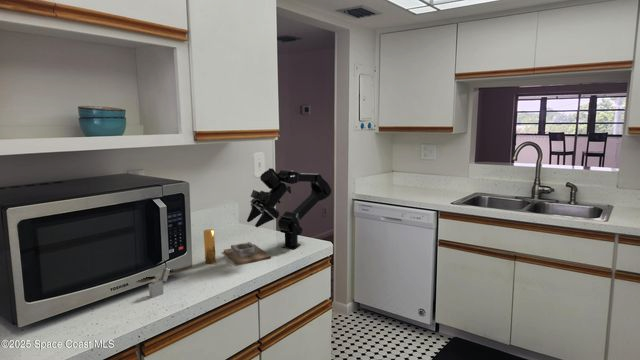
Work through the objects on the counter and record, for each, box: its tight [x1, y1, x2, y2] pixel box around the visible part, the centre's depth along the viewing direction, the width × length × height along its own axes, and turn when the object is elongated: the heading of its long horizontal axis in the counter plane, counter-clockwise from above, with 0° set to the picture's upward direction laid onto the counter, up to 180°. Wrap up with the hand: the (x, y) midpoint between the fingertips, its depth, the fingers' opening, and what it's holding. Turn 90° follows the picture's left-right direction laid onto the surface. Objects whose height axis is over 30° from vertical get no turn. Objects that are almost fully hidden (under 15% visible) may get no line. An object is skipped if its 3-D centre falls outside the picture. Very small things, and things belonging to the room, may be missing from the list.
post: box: [203, 228, 217, 265], centre depth 159 cm, size 4×4×13 cm
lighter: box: [148, 268, 170, 299], centre depth 132 cm, size 7×2×8 cm, turn 144°
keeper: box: [223, 241, 272, 266], centre depth 167 cm, size 14×18×4 cm
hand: (251, 224), depth 165 cm, fingers open, 9 cm apart
